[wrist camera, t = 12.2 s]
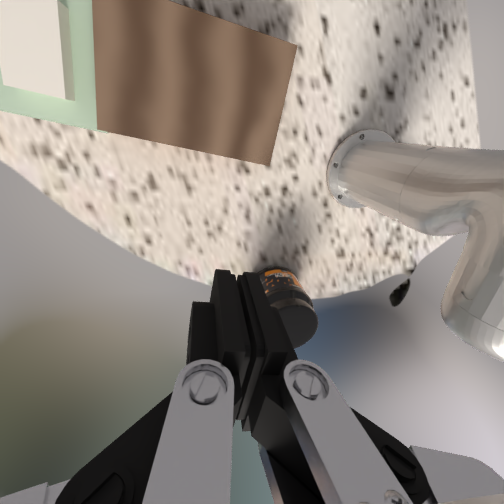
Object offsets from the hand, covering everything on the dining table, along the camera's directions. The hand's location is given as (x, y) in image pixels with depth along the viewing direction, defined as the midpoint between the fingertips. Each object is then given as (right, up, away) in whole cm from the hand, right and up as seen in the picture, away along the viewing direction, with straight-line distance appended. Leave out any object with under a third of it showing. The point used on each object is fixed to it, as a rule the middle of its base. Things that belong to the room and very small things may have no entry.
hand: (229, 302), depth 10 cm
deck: (-6, +24, +23) cm, 34 cm away
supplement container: (+5, -5, +40) cm, 41 cm away
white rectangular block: (-23, +25, +18) cm, 38 cm away
